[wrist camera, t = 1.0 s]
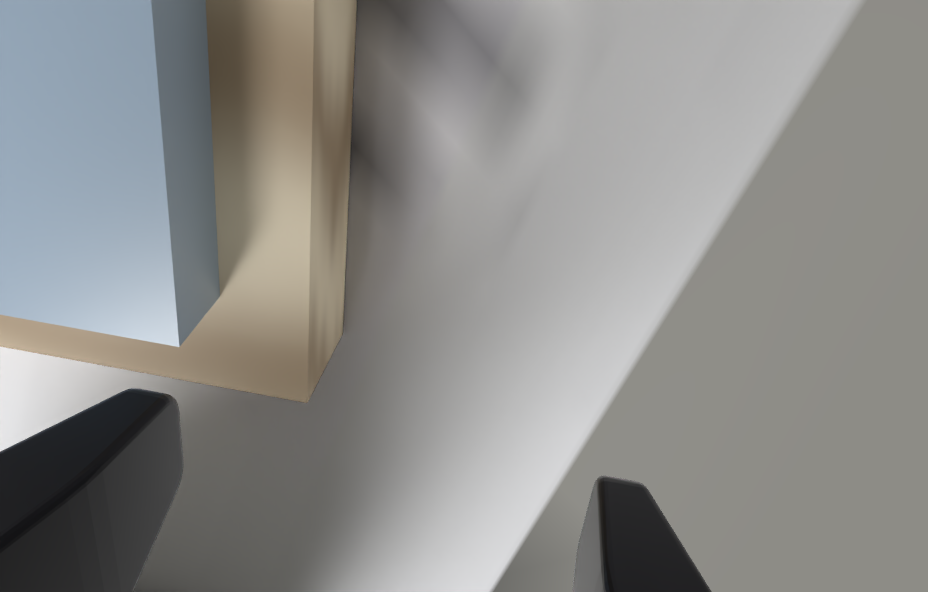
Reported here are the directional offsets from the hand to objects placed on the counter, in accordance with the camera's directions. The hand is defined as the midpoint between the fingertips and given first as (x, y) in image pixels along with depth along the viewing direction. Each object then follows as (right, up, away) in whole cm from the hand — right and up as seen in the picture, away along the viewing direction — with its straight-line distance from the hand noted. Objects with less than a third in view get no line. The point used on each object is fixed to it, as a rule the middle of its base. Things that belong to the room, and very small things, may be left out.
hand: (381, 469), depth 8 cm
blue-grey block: (-7, +6, +8) cm, 12 cm away
